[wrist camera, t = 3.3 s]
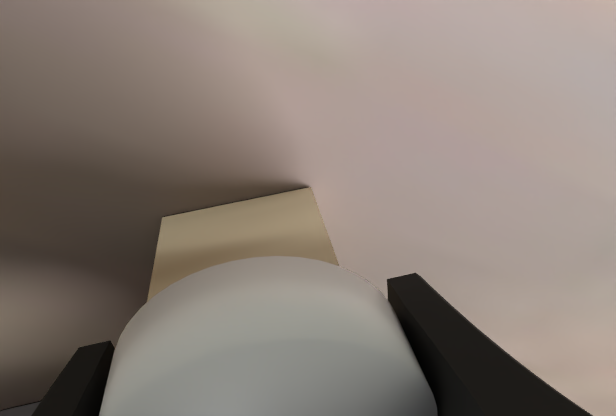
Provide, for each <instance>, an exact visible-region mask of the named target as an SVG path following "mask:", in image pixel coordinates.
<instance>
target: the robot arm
mask: <svg viewBox="0 0 616 416" xmlns="http://www.w3.org/2000/svg"><path fill="white" fill-rule="evenodd" d="M387 287H388V301H389V302H390V304H391V306H392V308H393V310H394V311H395V313H396V315H397V317H398V320H399V322H400V324H401V326H402V328H403V330H404V333H405V335H406V337H407V339H408V341H409V343H410V345H411V348H412V350H413V352H414V354H415V356H416V358H417V361H418V363H419V365H420V367H421V369H422V371H423V374H424V376H425V378H426V380H427V382H428V384H429V387H430V389H431V391H432V393H433V395H434V399H435V402H436V405H437V414H438V416H593V415H591V414H590V413H588V412H587V411H585V410H584V409H582V408H581V407H579V406H578V405H576V404H575V403H573V402H572V401H571V400H569V399H568V398H566V397H565V396H563V395H562V394H561V393H559V392H558V391H556V390H555V389H554V388H552V387H551V386H550V385H548V384H547V383H545V382H544V381H543V380H541V379H540V378H539V377H538V376H536V375H535V374H534V373H532V372H531V371H530V370H528V369H527V368H526V367H524V366H523V365H522V364H520V363H519V362H518V361H517V360H515V359H514V358H513V357H512V356H510V355H509V354H508V353H506V352H505V351H504V350H503V349H502V348H500V347H499V346H498V345H497V344H496V343H494V342H493V341H492V340H491V339H490V338H488V337H487V336H486V335H485V334H484V333H482V332H481V331H480V330H479V329H478V328H476V327H475V326H474V325H473V324H472V323H471V322H469V321H468V320H467V319H466V318H465V317H464V316H463V315H462V314H460V313H459V312H458V311H457V310H456V309H455V308H454V307H453V306H451V305H450V304H449V303H448V302H447V301H446V300H445V299H444V298H443V297H442V296H441V295H440V294H438V293H437V292H436V291H435V290H434V289H433V288H432V287H431V286H430V285H429V284H428V283H427V282H426V281H425V280H424V279H423V278H422V277H421V276H419V275H418V274H416V273H413V274H409V275H404V276H400V277H395V278H391V279H387ZM114 350H115V348H114V347H113V345H112V343H111V341H106V342H102V343H97V344H93V345H88V346H84V347H79V348H78V350H77V351H76V353H75V354H74V355H73V357H72V358H71V360H70V361H69V362H68V364H67V365H66V367H65V368H64V369H63V371H62V372H61V374H60V375H59V376H58V378H57V379H56V381H55V382H54V384H53V385H52V386H51V388H50V389H49V391H48V392H47V394H46V395H45V396H44V398H43V399H42V401H41V402H40V404H39V405H38V406H37V408H36V409H35V411H34V412H33V414H32V415H31V416H99V413H100V409H101V405H102V401H103V396H104V392H105V388H106V384H107V379H108V375H109V371H110V367H111V363H112V358H113V354H114Z"/></svg>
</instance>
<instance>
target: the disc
mask: <svg viewBox="0 0 616 416" xmlns="http://www.w3.org/2000/svg"><path fill="white" fill-rule="evenodd" d="M99 416H438V414H437V405H436V402H435V399H434V395H433V393H432V391H431V389H430V387H429V384H428V382H427V380H426V378H425V376H424V374H423V371H422V369H421V367H420V365H419V363H418V361H417V358H416V356H415V354H414V352H413V350H412V348H411V345H410V343H409V341H408V339H407V337H406V335H405V333H404V330H403V328H402V326H401V324H400V322H399V320H398V317H397V315H396V313H395V311H394V310H393V308H392V306H391V304H390V302H389V301H388V300H387V299H386V298H385V296H384V295H383V294H382V293H381V292H380V291H379V290H378V289H377V288H376V287H375V286H373V285H372V284H371V283H370V282H369V281H367V280H366V279H364V278H362V277H361V276H359V275H357V274H356V273H354V272H352V271H349V270H347V269H345V268H342V267H340V266H338V265H334V264H331V263H327V262H324V261H320V260H315V259H309V258H302V257H290V256H266V257H253V258H247V259H240V260H234V261H230V262H226V263H222V264H219V265H215V266H211V267H209V268H206V269H203V270H201V271H198V272H196V273H193V274H190V275H188V276H186V277H185V278H183V279H181V280H179V281H177V282H175V283H173V284H171V285H170V286H168V287H167V288H165V289H164V290H162V291H161V292H159V293H158V294H156V295H155V296H154V297H152V298H151V299H150V300H149V301H148V302H147V303H146V304H144V305H143V306H142V307H141V308H140V309H139V310H138V311H137V313H136V314H135V315H134V316H133V317H132V318H131V320H130V321H129V322H128V324H127V325H126V327H125V329H124V330H123V332H122V333H121V335H120V337H119V340H118V342H117V345H116V348H115V350H114V354H113V358H112V363H111V367H110V371H109V375H108V379H107V384H106V388H105V392H104V396H103V401H102V405H101V409H100V413H99Z"/></svg>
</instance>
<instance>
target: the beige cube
mask: <svg viewBox="0 0 616 416" xmlns="http://www.w3.org/2000/svg"><path fill="white" fill-rule="evenodd" d="M266 256H290V257H302V258H309V259H315V260H320V261H324V262H327V263H331V264H334V265H338V266H339V264H338V261H337V258H336V255H335V253H334V250H333V247H332V244H331V242H330V239H329V236H328V233H327V230H326V228H325V225H324V222H323V219H322V217H321V214H320V211H319V208H318V206H317V203H316V200H315V197H314V194H313V192H312V189H311V187H309V188H304V189H299V190H294V191H289V192H284V193H279V194H275V195H270V196H265V197H260V198H255V199H250V200H245V201H240V202H235V203H230V204H226V205H221V206H216V207H211V208H206V209H201V210H196V211H191V212H186V213H181V214H176V215H172V216H167V217H162V222H161V227H160V233H159V238H158V244H157V249H156V255H155V260H154V266H153V272H152V277H151V283H150V288H149V294H148V299H147V302H148V301H149V300H150V299H151V298H152V297H154V296H155V295H156V294H158V293H159V292H161V291H162V290H164V289H165V288H167V287H168V286H170V285H171V284H173V283H175V282H177V281H179V280H181V279H183V278H185V277H186V276H188V275H190V274H193V273H196V272H198V271H201V270H203V269H206V268H209V267H211V266H215V265H219V264H222V263H226V262H230V261H234V260H240V259H247V258H253V257H266Z"/></svg>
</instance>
